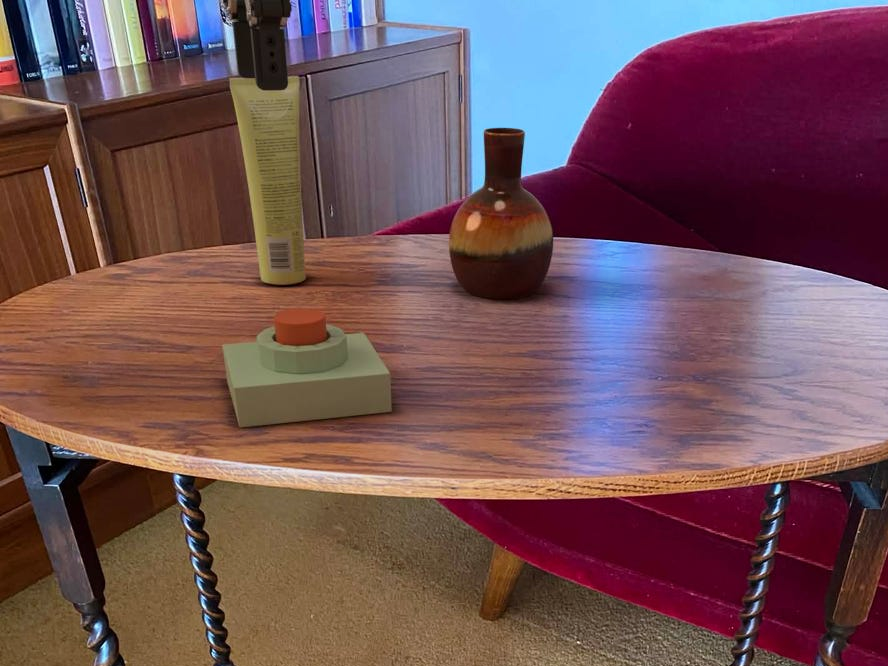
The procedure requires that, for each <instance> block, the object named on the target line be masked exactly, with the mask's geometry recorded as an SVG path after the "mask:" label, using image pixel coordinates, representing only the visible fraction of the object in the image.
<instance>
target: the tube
mask: <svg viewBox="0 0 888 666" xmlns="http://www.w3.org/2000/svg"><path fill="white" fill-rule="evenodd" d="M300 82H301V81H300V75H293V76H292V75H291V76H288V86H287V88H286V89H285V90H269V91H264V90H261V89H260V88H258V87H257V85H256V82H255V78H243V77H230V78H229V89H230V93H231V97H232V101H233V106H234V110H235V115H236V121H237V125H238V131H239V138H240V143H241V148H242V149H241V150H242V154H243V155H242V156H243V161H244V167H245V174H246V180H247V187H248V193H249V194H248V195H249V201H250V207H251V214H252V221H253V229H254V236H255V238H254V239H255V245H256V252H257V261H258V270H259V276H260V280H261V281H262V282H263V283H265V284H268V285H272V286H273V285H274V286H285V285H286V286H289V285H295V284H300V283H302V282H304V281H305V280H306V278H307V275H306V272H307V271H306V259H305V258H306V257H305V241H304V223H303V203H302V201H303V200H302V179H301V176H302V175H301V147H300V146H301V143H300V140H301V139H300V87H301V85H300V84H301V83H300Z"/></svg>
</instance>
